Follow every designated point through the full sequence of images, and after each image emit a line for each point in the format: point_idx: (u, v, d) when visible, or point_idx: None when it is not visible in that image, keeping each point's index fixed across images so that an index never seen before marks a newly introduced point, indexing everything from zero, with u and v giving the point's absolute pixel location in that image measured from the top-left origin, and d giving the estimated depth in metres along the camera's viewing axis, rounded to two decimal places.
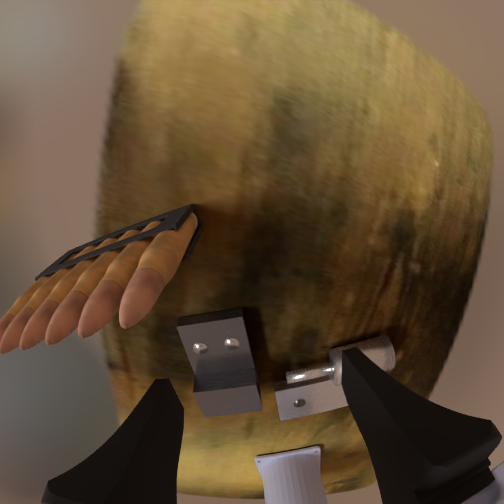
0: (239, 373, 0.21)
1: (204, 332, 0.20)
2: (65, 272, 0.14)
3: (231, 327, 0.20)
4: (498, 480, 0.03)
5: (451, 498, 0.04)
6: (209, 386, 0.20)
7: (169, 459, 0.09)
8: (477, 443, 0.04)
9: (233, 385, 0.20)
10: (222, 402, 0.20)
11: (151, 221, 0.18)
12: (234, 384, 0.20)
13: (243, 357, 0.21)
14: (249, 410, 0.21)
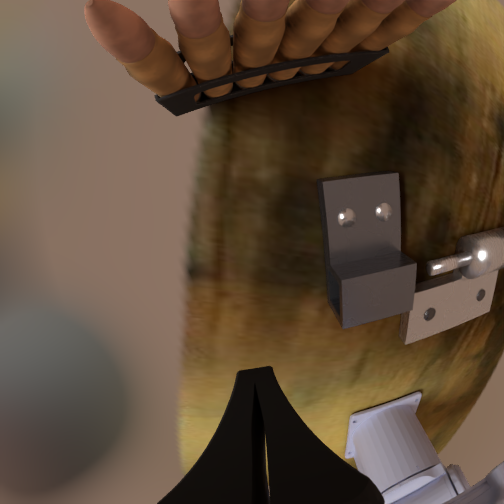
0: (388, 257, 0.16)
1: (355, 192, 0.15)
2: None
3: (386, 187, 0.15)
4: (498, 480, 0.03)
5: None
6: (360, 272, 0.15)
7: (262, 453, 0.08)
8: None
9: (390, 266, 0.15)
10: (373, 297, 0.15)
11: None
12: (390, 266, 0.15)
13: (392, 235, 0.16)
14: (399, 311, 0.16)
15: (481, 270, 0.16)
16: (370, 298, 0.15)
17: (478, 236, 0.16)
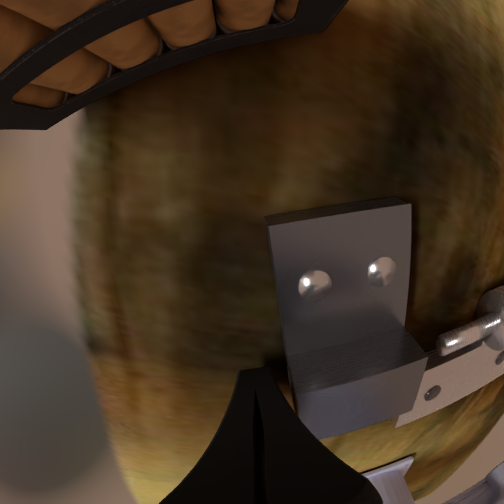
0: (383, 341, 0.10)
1: (331, 242, 0.09)
2: None
3: (388, 230, 0.09)
4: (498, 480, 0.03)
5: None
6: (332, 376, 0.09)
7: (263, 453, 0.08)
8: None
9: (384, 365, 0.09)
10: (351, 408, 0.09)
11: None
12: (384, 363, 0.09)
13: (393, 305, 0.10)
14: (391, 416, 0.09)
15: None
16: (346, 410, 0.09)
17: None
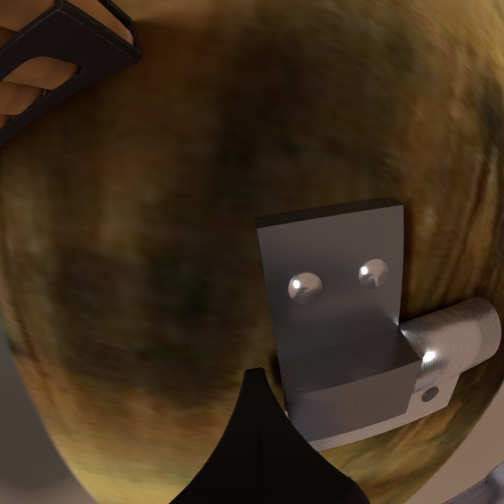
0: (375, 343, 0.10)
1: (321, 244, 0.09)
2: None
3: (379, 232, 0.09)
4: (498, 480, 0.03)
5: None
6: (322, 378, 0.09)
7: None
8: None
9: (376, 368, 0.09)
10: (343, 411, 0.09)
11: None
12: (376, 366, 0.09)
13: (385, 307, 0.10)
14: (384, 418, 0.09)
15: (416, 390, 0.09)
16: (337, 412, 0.09)
17: (423, 329, 0.10)
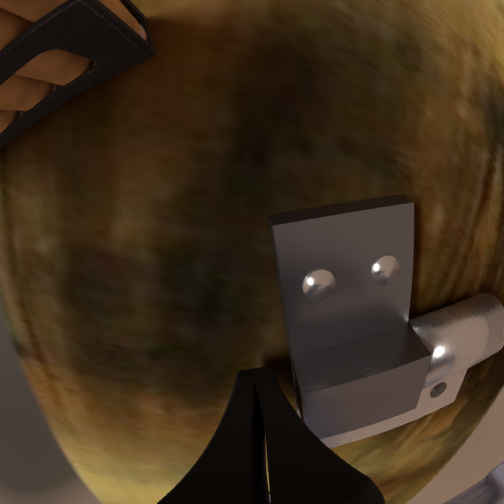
0: (386, 339, 0.10)
1: (335, 241, 0.09)
2: None
3: (391, 229, 0.09)
4: (498, 480, 0.03)
5: None
6: (336, 374, 0.09)
7: (262, 453, 0.08)
8: None
9: (389, 363, 0.09)
10: (356, 406, 0.09)
11: None
12: (388, 362, 0.09)
13: (396, 304, 0.10)
14: (395, 414, 0.09)
15: (427, 385, 0.09)
16: (351, 408, 0.09)
17: (433, 325, 0.10)
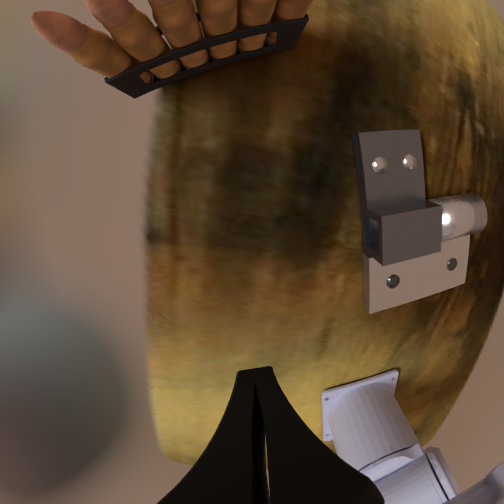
0: (416, 202, 0.17)
1: (385, 143, 0.16)
2: None
3: (410, 141, 0.16)
4: (498, 480, 0.03)
5: None
6: (395, 211, 0.16)
7: (262, 453, 0.08)
8: None
9: (420, 207, 0.16)
10: (408, 235, 0.16)
11: None
12: (420, 207, 0.16)
13: (417, 183, 0.17)
14: (429, 252, 0.17)
15: (444, 233, 0.17)
16: (405, 236, 0.16)
17: (440, 199, 0.17)
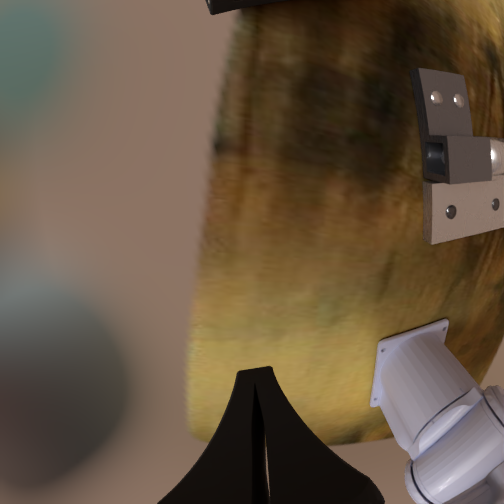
0: None
1: (439, 81, 0.15)
2: None
3: (457, 83, 0.15)
4: (498, 480, 0.03)
5: None
6: None
7: (262, 453, 0.08)
8: None
9: (474, 136, 0.14)
10: (467, 158, 0.15)
11: None
12: (473, 136, 0.15)
13: (466, 120, 0.16)
14: (484, 178, 0.15)
15: (492, 164, 0.15)
16: (465, 158, 0.15)
17: None
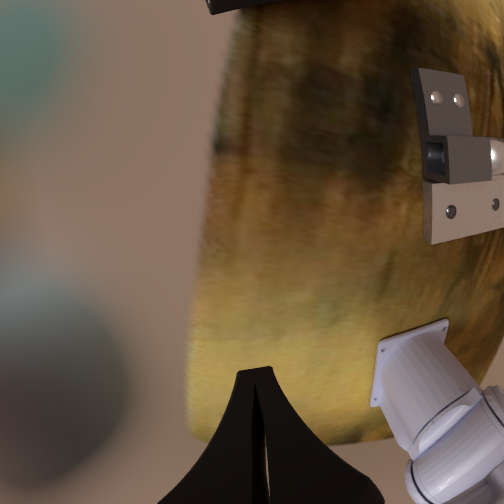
0: None
1: (439, 81, 0.15)
2: None
3: (457, 83, 0.15)
4: (498, 480, 0.03)
5: None
6: None
7: (262, 453, 0.08)
8: None
9: (474, 136, 0.14)
10: (467, 158, 0.15)
11: None
12: (473, 136, 0.15)
13: (466, 120, 0.16)
14: (484, 178, 0.15)
15: (492, 164, 0.15)
16: (465, 158, 0.15)
17: None
